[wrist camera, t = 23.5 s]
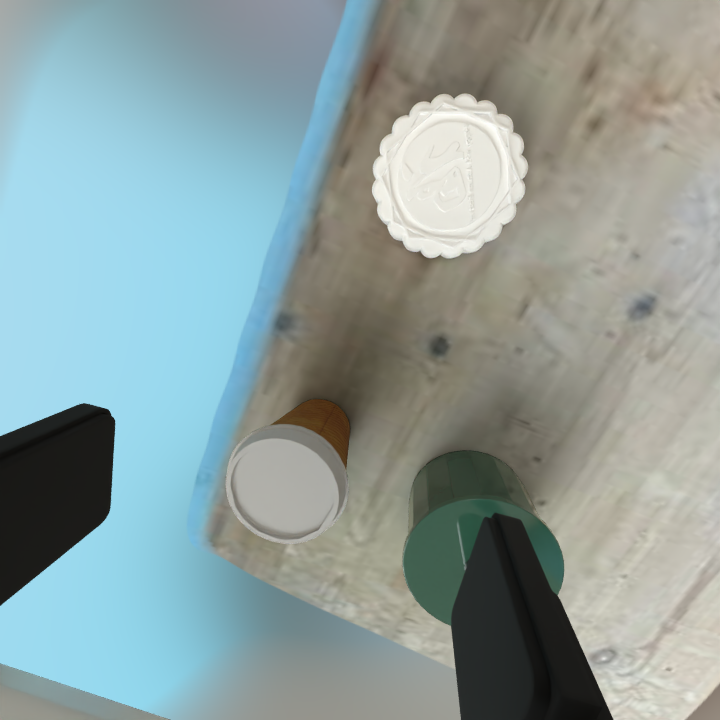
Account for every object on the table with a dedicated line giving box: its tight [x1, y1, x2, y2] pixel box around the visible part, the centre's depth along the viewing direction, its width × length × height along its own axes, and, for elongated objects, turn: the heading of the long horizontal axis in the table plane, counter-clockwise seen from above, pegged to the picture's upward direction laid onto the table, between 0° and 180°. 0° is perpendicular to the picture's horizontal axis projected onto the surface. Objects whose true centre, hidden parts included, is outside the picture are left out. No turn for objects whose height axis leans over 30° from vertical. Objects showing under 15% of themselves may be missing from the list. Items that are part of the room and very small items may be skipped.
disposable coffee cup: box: [226, 399, 350, 544], centre depth 34 cm, size 10×10×12 cm
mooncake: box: [372, 94, 528, 259], centre depth 31 cm, size 12×12×4 cm
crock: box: [408, 451, 539, 534], centre depth 35 cm, size 11×11×8 cm
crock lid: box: [403, 495, 564, 626], centre depth 29 cm, size 12×12×7 cm
